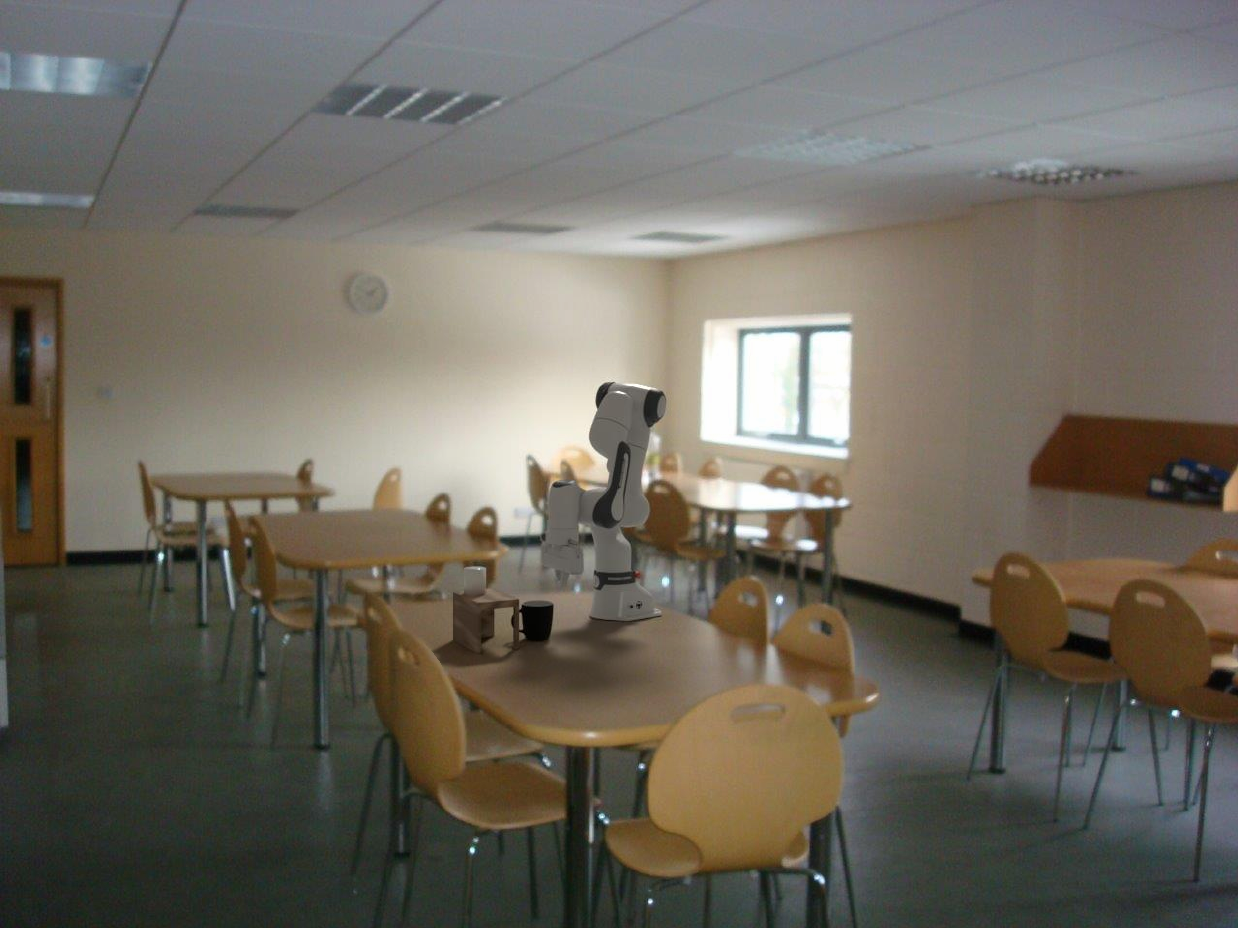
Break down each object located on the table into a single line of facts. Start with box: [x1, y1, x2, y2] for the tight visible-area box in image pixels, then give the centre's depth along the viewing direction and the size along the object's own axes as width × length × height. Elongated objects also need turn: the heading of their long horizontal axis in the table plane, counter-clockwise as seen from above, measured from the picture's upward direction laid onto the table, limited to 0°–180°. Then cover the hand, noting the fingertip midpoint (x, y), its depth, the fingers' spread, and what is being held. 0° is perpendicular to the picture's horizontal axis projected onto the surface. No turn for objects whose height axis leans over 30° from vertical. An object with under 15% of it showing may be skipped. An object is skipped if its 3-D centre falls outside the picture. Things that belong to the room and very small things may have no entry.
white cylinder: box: [463, 566, 487, 595], centre depth 320 cm, size 6×6×7 cm
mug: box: [510, 599, 555, 642], centre depth 325 cm, size 12×9×10 cm
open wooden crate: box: [452, 588, 520, 654], centre depth 318 cm, size 12×18×14 cm, turn 29°
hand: (561, 586), depth 328 cm, fingers closed
